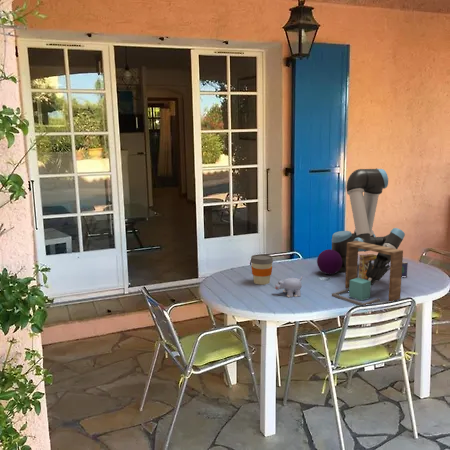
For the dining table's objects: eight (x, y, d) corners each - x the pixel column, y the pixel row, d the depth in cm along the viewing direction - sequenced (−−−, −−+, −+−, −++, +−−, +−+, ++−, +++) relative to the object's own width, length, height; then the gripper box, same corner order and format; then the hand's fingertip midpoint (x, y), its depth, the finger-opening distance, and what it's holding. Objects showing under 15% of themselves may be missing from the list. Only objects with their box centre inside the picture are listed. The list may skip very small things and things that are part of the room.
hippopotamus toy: (272, 291, 266) (273, 274, 264) (299, 290, 268) (300, 273, 266) (277, 298, 256) (277, 280, 254) (305, 296, 258) (305, 279, 256)
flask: (406, 276, 291) (407, 258, 289) (407, 277, 288) (408, 260, 286) (390, 276, 292) (391, 258, 290) (391, 277, 289) (392, 260, 287)
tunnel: (345, 287, 271) (346, 242, 266) (354, 285, 276) (356, 240, 271) (390, 301, 248) (393, 252, 243) (400, 298, 253) (403, 250, 248)
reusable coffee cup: (271, 286, 275) (271, 260, 272) (249, 284, 277) (249, 259, 275) (273, 279, 287) (274, 254, 284) (252, 278, 289) (252, 253, 287)
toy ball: (342, 271, 303) (343, 247, 300) (341, 278, 289) (342, 253, 286) (317, 269, 307) (318, 246, 304) (315, 276, 292) (316, 252, 289)
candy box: (362, 282, 280) (363, 256, 277) (358, 280, 284) (359, 254, 281) (375, 281, 282) (377, 255, 280) (371, 279, 286) (372, 253, 284)
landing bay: (331, 295, 258) (331, 293, 258) (347, 290, 266) (347, 288, 266) (363, 306, 242) (363, 304, 242) (380, 300, 250) (380, 298, 250)
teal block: (348, 296, 257) (349, 280, 255) (357, 293, 261) (358, 277, 259) (361, 300, 251) (362, 283, 249) (370, 297, 255) (370, 281, 253)
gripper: (373, 247, 268) (352, 282, 261) (394, 251, 258) (373, 288, 251) (378, 255, 272) (358, 290, 265) (399, 259, 262) (378, 296, 255)
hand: (365, 289), depth 258 cm, fingers closed
